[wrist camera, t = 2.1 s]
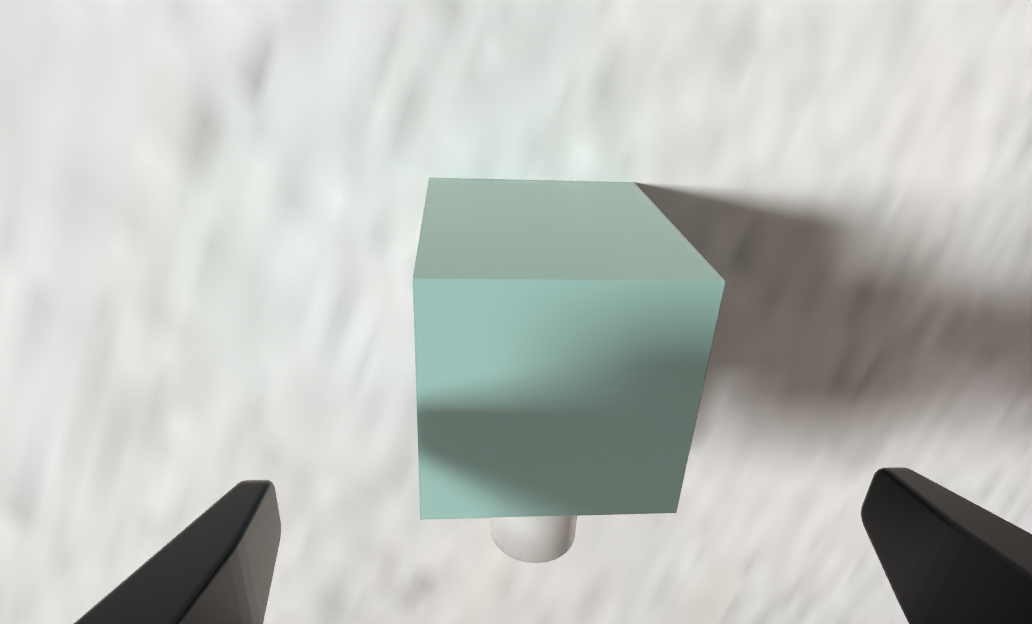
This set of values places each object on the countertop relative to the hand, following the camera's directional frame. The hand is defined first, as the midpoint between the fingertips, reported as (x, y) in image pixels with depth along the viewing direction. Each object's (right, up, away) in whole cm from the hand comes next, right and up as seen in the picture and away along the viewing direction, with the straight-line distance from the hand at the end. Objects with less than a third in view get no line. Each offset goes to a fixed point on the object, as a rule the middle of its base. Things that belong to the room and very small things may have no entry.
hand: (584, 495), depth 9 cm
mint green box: (-1, +3, +8) cm, 8 cm away
